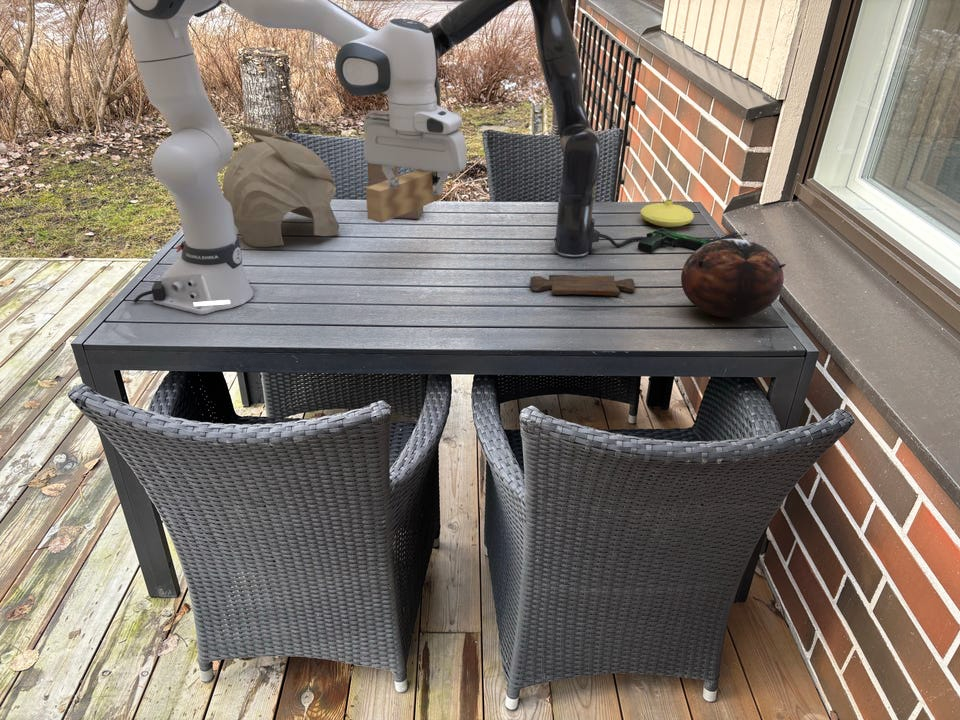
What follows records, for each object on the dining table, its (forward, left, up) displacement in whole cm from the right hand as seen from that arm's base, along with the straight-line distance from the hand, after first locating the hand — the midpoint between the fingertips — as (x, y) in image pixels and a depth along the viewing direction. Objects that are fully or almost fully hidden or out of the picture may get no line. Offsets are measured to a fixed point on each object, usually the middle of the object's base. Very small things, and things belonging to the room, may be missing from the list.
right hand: (428, 187), depth 188 cm
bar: (+8, +5, -3) cm, 10 cm away
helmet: (+35, -24, -17) cm, 46 cm away
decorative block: (0, -29, -17) cm, 34 cm away
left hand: (+19, +45, +14) cm, 51 cm away
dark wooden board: (-26, +38, -17) cm, 49 cm away
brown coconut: (-49, +63, -17) cm, 82 cm away
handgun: (-62, +25, -17) cm, 69 cm away
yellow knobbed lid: (-73, +8, -17) cm, 76 cm away
